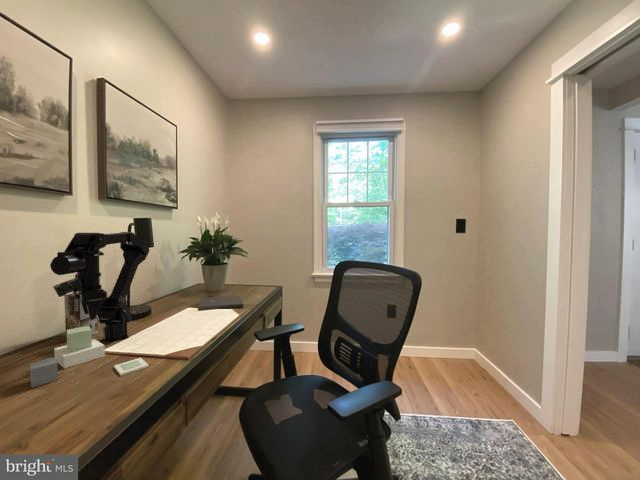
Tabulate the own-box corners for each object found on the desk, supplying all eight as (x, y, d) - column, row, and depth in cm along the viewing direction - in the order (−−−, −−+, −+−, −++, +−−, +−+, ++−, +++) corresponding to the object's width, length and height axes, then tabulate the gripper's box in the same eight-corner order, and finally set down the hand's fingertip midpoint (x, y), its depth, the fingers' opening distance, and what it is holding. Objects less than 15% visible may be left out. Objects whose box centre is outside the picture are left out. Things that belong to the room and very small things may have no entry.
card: (140, 359, 88) (140, 357, 88) (148, 366, 84) (148, 364, 84) (114, 367, 83) (114, 365, 83) (120, 375, 79) (120, 373, 79)
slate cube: (55, 374, 79) (55, 356, 79) (58, 380, 76) (57, 362, 76) (30, 381, 76) (29, 363, 75) (31, 388, 72) (31, 369, 72)
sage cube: (89, 341, 93) (88, 325, 93) (91, 347, 89) (91, 330, 89) (67, 346, 89) (66, 329, 89) (68, 352, 85) (68, 334, 85)
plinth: (93, 349, 96) (93, 338, 96) (104, 357, 91) (104, 345, 91) (54, 360, 88) (54, 348, 88) (64, 369, 82) (63, 356, 82)
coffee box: (98, 333, 110) (98, 292, 110) (80, 339, 104) (79, 296, 104) (83, 330, 113) (82, 291, 113) (64, 336, 107) (63, 294, 107)
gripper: (51, 269, 93) (53, 316, 93) (59, 276, 80) (60, 329, 81) (94, 266, 101) (95, 309, 102) (106, 272, 89) (107, 320, 89)
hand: (89, 316), depth 93 cm, fingers open, 9 cm apart
